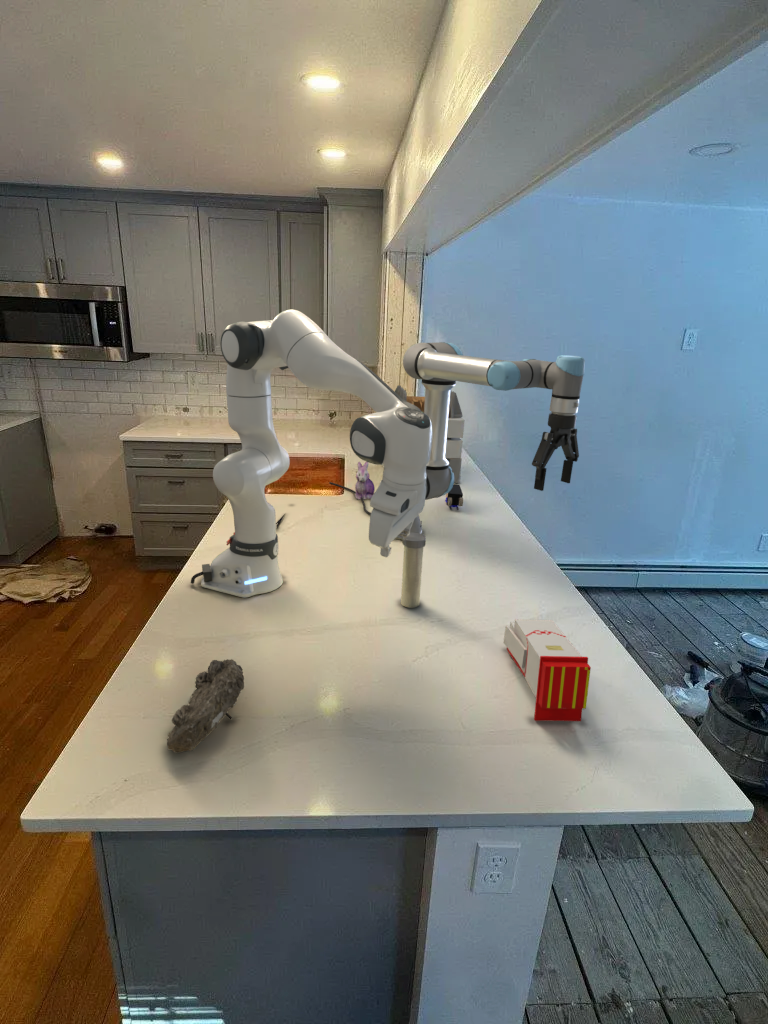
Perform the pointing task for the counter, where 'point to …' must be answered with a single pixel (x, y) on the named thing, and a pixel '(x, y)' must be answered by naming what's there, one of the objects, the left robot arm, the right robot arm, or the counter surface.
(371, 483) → the figurine
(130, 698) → the counter surface
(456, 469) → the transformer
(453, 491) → the figurine character
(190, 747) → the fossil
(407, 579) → the bottle
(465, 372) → the right robot arm
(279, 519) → the feather
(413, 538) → the lid
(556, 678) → the toy
